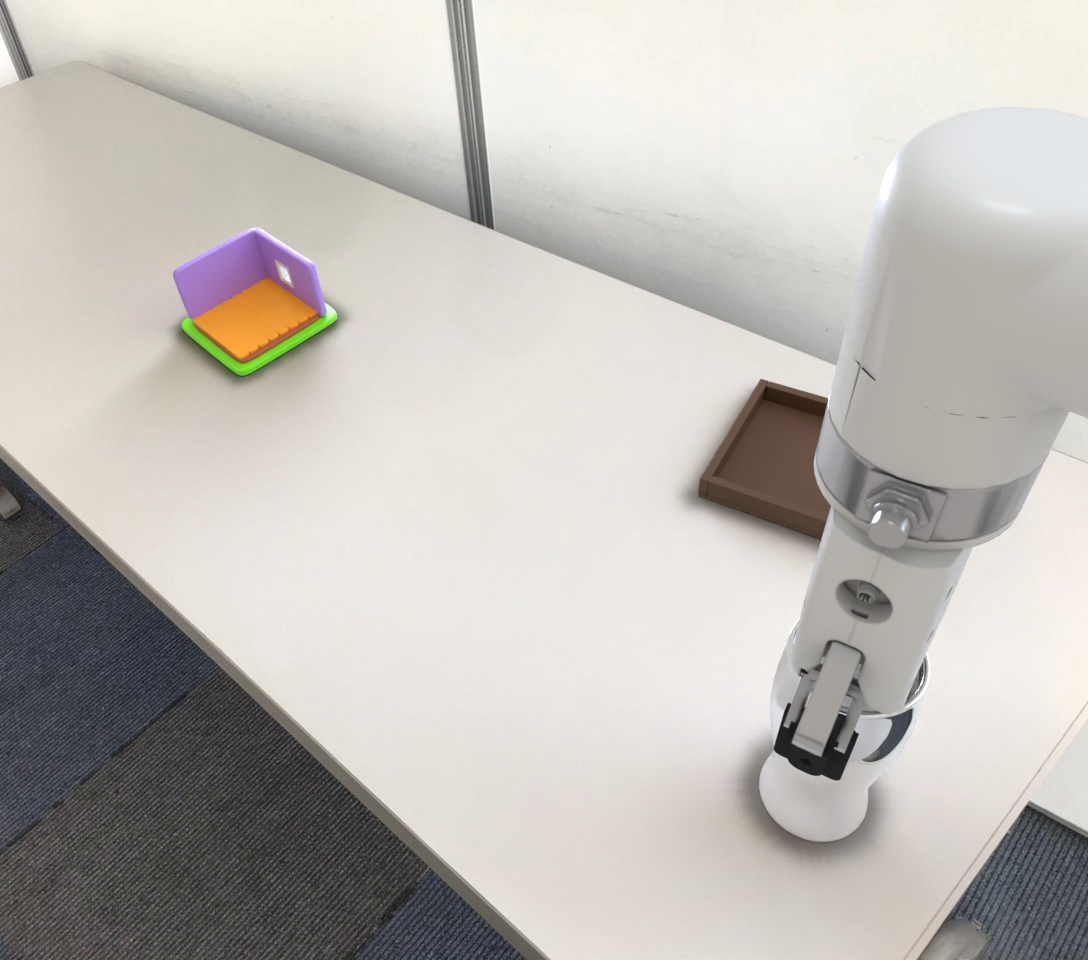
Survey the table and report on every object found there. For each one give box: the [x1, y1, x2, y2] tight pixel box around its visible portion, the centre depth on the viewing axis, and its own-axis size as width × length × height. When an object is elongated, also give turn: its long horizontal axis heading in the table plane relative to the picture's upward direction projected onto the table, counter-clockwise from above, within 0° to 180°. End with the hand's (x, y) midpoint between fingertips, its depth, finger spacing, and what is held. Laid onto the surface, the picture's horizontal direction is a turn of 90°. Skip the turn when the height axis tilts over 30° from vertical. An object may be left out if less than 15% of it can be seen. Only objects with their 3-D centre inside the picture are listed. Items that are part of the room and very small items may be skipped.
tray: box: [697, 378, 831, 540], centre depth 74 cm, size 12×12×2 cm
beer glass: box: [758, 617, 932, 843], centre depth 53 cm, size 7×7×15 cm
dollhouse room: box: [172, 227, 338, 377], centre depth 94 cm, size 12×12×7 cm
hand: (840, 684), depth 49 cm, fingers open, 9 cm apart
